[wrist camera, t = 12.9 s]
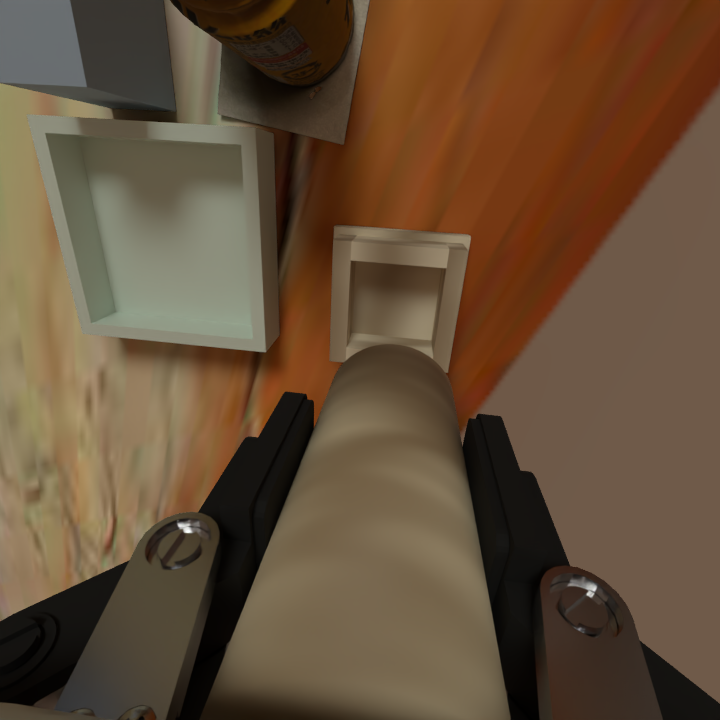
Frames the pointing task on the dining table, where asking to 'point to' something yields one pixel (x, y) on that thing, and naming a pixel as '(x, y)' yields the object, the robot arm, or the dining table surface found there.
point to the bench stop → (89, 51)
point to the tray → (165, 228)
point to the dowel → (371, 567)
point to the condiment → (285, 60)
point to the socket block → (396, 290)
